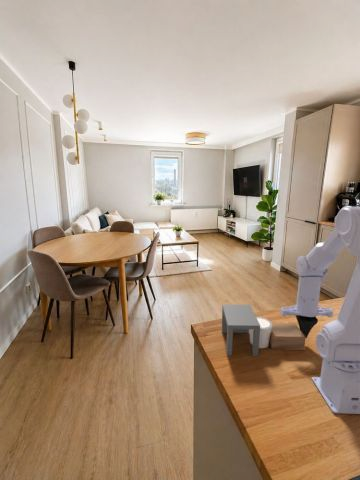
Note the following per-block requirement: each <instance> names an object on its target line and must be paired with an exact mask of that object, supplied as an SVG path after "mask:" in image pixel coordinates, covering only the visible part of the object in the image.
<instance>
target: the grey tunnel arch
mask: <svg viewBox="0 0 360 480" xmlns="http://www.w3.org/2000/svg"><path fill="white" fill-rule="evenodd" d="M221 308H222V309H221V310H222V311H221V312H222V313H221V333H222V334H226V350H225V351H226V356H233V337H234V336H233V334H250V330H249V329H254V330H253V345H251V346H252V348H251V349H252V350H251V352H252V353H251V354H252V355H253V356H254V357H258V356H259V349H260V348H259V337H260V324H259V322H258V320H257V318H256V317H257V316H256V314H255V312H254V311H253V308H252V306H251V305H250V304H222V306H221Z"/></svg>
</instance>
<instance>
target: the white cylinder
mask: <svg viewBox="0 0 360 480" xmlns="http://www.w3.org/2000/svg"><path fill="white" fill-rule="evenodd" d="M256 318H257V320H258V322H259V324H260V337H259V349H266V348H268V347H269V346H270V345H269V340H270V334H271V330H272V323H273V322H272V321H271V320H269V319H267V318H265V317H263V316H262V317H261V316H256ZM253 330H254V329H249V343H250V344H251V346H253Z"/></svg>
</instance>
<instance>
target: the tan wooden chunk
mask: <svg viewBox="0 0 360 480" xmlns="http://www.w3.org/2000/svg"><path fill="white" fill-rule="evenodd" d="M271 323H272V330H271V334H270V340H269V345H268V346H269V347H270V349H271V350H273V351H274V350H275V351H276V350H279V351H280V350H283V351H284V350H285V351H304V350H305V344H306V338H305V335H304V334H303V333H302V332H301V330H300V328H299V325H298V324H296V323H295V322H284V323H283V322H271Z"/></svg>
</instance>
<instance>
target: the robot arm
mask: <svg viewBox="0 0 360 480" xmlns="http://www.w3.org/2000/svg"><path fill="white" fill-rule="evenodd" d="M344 248H346V249H347V251H348V252H349V253H350V254H352V255H353V256H355V257H357V258H358V261H357V263H356V266H355V269H354V271H353V274H352V276H351V280H350V282H349V284H348V287H347V291H346V292H345V296H344V299H343V302H342V304H341V307H340V309H339V313H338V316H337V318H336V319H334V320H332V321H329V322H327V323H326V324H324V325H323V326H322V329H321V330H320V331H318V332H317V334H316V337H315V345H316V349H317V352H318V354H319V356H320V357H321V358H322V360H321V361H322V362H321V371H320V376H311V380H312V382H313V383H314V385H315V387H316V388H317V390H318V391H319V392H320V394H321V396H322V397H323V399H324V401H325V402H326V404H327V405H328V407H329V409H330V411H331V412H333V414H356V415H360V206H352V205H346V206H343V207H342V208H341V209H340V210H339V211H338V213H337V215H336V216H334V228H333V230H332V231H331V233H330V234H329V236H328V237H327V238H326V240H325V241H321V242H317V243H316V244H315V245H314V247H313V248H312V249H311V250H310V251H309V253H308V254H307V255H304V256H303V255H299V256H298V258H297V259H296V264H295V266H296V272H297V275H298V283H297V285H298V286H297V294H296V296H297V297H296V304H295V305H291V306H285V307H280V312H279V313H280V315H281V316H282V317H287V316H295V318H296V320H297V325H298V328H299V329H300V330H301V332H302V333H303V334H304V335H305V339H307V338H308V337H309V334H310V332H311V330H312V329H313V328H314V326H315V325H317V324H318V321H319V319H318V318H317V317H320V316H321V317H324V316H325V317H326V316H327V317H329V318H333V314H334V311H333V310H332V309H331V308H330V307H322V306H319V303H320V295H321V286H322V284H323V283H324V281H325V277H326V276H327V274H328V270H329V269H328V268H329V267H330V266H331V265H332V264H333V263H335V262H336V261H337V259H338V258H339V256H340V255H339V254H340V253H339V252H340V251H341V250H342V249H344Z"/></svg>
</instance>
